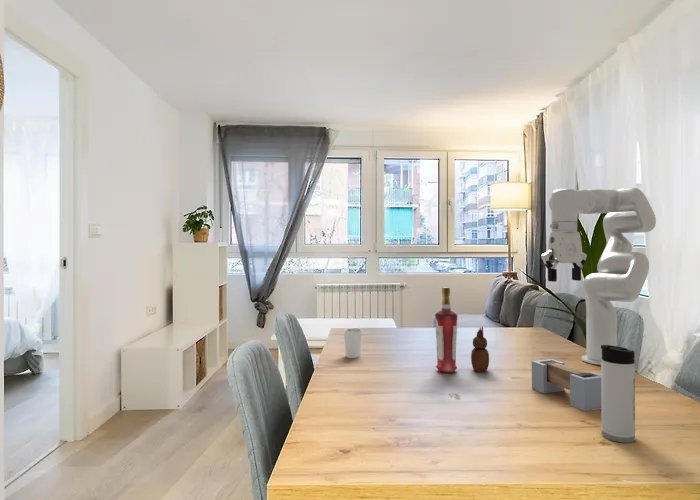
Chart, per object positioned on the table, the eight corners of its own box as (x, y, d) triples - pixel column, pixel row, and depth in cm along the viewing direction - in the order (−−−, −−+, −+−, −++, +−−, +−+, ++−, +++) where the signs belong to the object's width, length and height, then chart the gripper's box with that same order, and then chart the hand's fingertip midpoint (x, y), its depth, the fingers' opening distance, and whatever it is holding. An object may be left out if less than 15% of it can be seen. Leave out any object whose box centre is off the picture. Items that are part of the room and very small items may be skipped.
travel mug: (593, 431, 100) (593, 342, 100) (621, 430, 100) (621, 342, 100) (612, 443, 94) (612, 349, 93) (642, 442, 94) (641, 348, 94)
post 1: (552, 385, 132) (552, 358, 132) (564, 390, 128) (564, 362, 128) (531, 388, 130) (531, 361, 130) (543, 393, 126) (543, 365, 125)
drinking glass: (362, 354, 173) (362, 328, 173) (361, 358, 166) (360, 331, 166) (345, 353, 173) (345, 328, 173) (343, 358, 167) (343, 331, 167)
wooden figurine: (490, 373, 145) (489, 328, 145) (471, 372, 146) (471, 327, 146) (488, 368, 152) (487, 324, 152) (470, 367, 153) (470, 323, 153)
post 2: (584, 411, 112) (584, 379, 112) (569, 404, 116) (569, 374, 116) (607, 407, 114) (607, 376, 114) (592, 401, 119) (591, 371, 119)
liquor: (433, 368, 152) (433, 286, 152) (455, 368, 152) (454, 286, 152) (437, 374, 145) (436, 288, 145) (459, 374, 145) (459, 288, 144)
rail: (552, 378, 129) (552, 361, 129) (592, 393, 116) (592, 374, 116) (543, 379, 128) (543, 362, 128) (582, 395, 115) (582, 375, 115)
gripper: (551, 227, 137) (551, 282, 137) (594, 227, 142) (595, 280, 142) (534, 228, 144) (534, 280, 144) (576, 228, 149) (576, 279, 150)
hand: (564, 280), depth 143 cm, fingers open, 9 cm apart
